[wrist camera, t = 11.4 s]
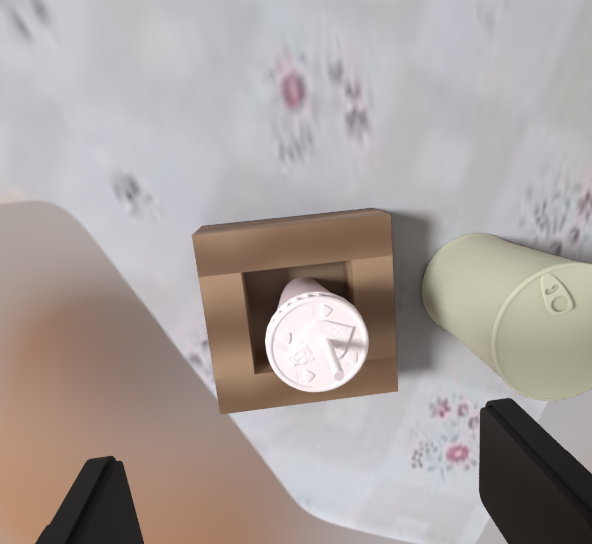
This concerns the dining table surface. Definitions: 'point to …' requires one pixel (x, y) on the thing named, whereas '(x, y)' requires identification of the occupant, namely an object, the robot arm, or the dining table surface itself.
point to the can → (516, 312)
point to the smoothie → (315, 338)
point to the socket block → (268, 288)
